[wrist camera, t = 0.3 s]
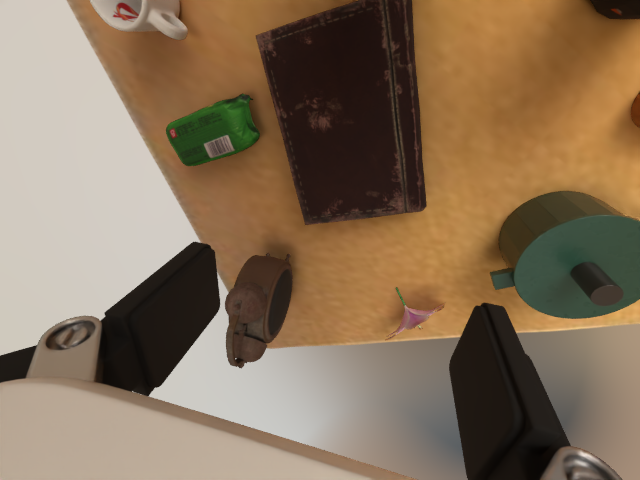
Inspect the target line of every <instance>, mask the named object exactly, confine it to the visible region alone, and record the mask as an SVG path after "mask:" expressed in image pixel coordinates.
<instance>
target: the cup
mask: <svg viewBox="0 0 640 480" xmlns="http://www.w3.org/2000/svg"><path fill="white" fill-rule="evenodd" d="M90 2H91V4H92V6H93V8H94V9H95V11H96V12H97V13H98V15H99V16H100V17H101V18H102V19H103V20H104V21H105V22H106V23H107V24H109V25H110V26H112V27H113V28H115V29H118V30H121V31H161V32H162V33H163V34H165V35H167V36H168V37H170V38H173V39H177V40H183V39H185V38H186V36H187V34H188V29H187V27H186V26H185V25H184V24H183V23H182V22H181V21H180V20H179V19H178V17H179V12H180V2H179V0H90Z"/></svg>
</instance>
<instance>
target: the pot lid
mask: <svg viewBox="0 0 640 480" xmlns="http://www.w3.org/2000/svg"><path fill="white" fill-rule="evenodd" d="M513 282H514V285H515V288H516V290H517V292H518V294H519V295H520V297H521V298H522V299H523V300H524V301H525V302H526V303H527V304H528V305H529V306H531V307H532V308H534V309H535V310H537V311H539V312H542V313H544V314H547V315H551V316H555V317H560V318H571V319H580V318H591V317H597V316H602V315H605V314H609V313H612V312H615V311H618V310H620V309H623V308H625V307H627V306H629V305H631V304H632V303H634V302H636V301H637V300H639V299H640V221H639V220H637V219H634V218H631V217H628V216H623V215H618V214H608V213H600V214H588V215H582V216H577V217H573V218H570V219H567V220H564V221H561V222H559V223H556V224H554V225H552V226H550V227H548V228H546V229H545V230H543V231H542V232H540V233H539V234H537V235H536V236H535V237H534V238H532V239H531V240H530V241H529V242H528V243H527V244H526V245H525V247H524V248H523V249H522V250H521V252H520V253H519V255H518V257H517V259H516V262H515V264H514V269H513Z"/></svg>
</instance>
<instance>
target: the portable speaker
mask: <svg viewBox="0 0 640 480" xmlns="http://www.w3.org/2000/svg"><path fill="white" fill-rule="evenodd" d="M591 2H592V4H593V6H594V7H595V9H596V11H597V12H598V13H600V14H602V15H604V16H606V17H608V18H610V19H640V0H591Z"/></svg>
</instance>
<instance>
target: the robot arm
mask: <svg viewBox="0 0 640 480" xmlns="http://www.w3.org/2000/svg"><path fill="white" fill-rule="evenodd" d="M219 307H220V298H219V288H218V279H217V269H216V259H215V252H214V250H213V249H211V246H210V245H208V244H203V243H198V242H193V243H191V244H190V245H189V246H187V247H186V248H185V249H184V250H182V251H181V252H180V253H179V254H177V255H176V256H175V257H174V258H172V259H171V260H170V261H169V262H167V263H166V264H165V265H164V266H162V267H161V268H160V269H159V270H157V271H156V272H155V273H154V274H152V275H151V276H150V277H149V278H147V279H146V280H145V281H144V282H142V283H141V284H140V285H139V286H137V287H136V288H135V289H134V290H132V291H131V292H130V293H129V294H127V295H126V296H125V297H124V298H122V299H121V300H120V301H119V302H117V303H116V304H115V305H114V306H112V307H111V308H110V309H109V310H107V311H106V312H105V316H106V317H104V318H103V319H102V320H101V321H99V319H97V318H95V317H92V316H79V317H74V318H70V319H67V320H65V321H63V322H60V323H58V324H56V325H55V326H53V327H52V328H50V329H49V330H48V331H47V332H46V333H44V334H43V335H42V337H41V339H40V340H39V342H38V345H36V346H33V347H29V348H26V349H22V350H18V351H15V352H11V353H8V354H4V355H1V356H0V480H416V479H414V478H410V477H407V476H404V475H400V474H398V473H394V472H391V471H388V470H385V469H382V468H379V467H375V466H372V465H369V464H366V463H362V462H359V461H356V460H353V459H350V458H347V457H344V456H340V455H337V454H334V453H331V452H328V451H325V450H321V449H318V448H315V447H312V446H309V445H305V444H302V443H299V442H295V441H292V440H289V439H286V438H282V437H279V436H276V435H273V434H270V433H267V432H263V431H260V430H257V429H253V428H250V427H247V426H244V425H241V424H237V423H234V422H231V421H228V420H224V419H221V418H218V417H214V416H211V415H208V414H204V413H201V412H198V411H195V410H191V409H188V408H184V407H181V406H178V405H174V404H171V403H168V402H165V401H162V400H158V399H154V398H151V397H148V396H149V394H150V393H151V392H152V391H153V389H154V388H155V387H159V386H161V385H162V383H163V382H164V381H165V380H166V378H167V377H168V376H169V375H170V373H171V372H172V371H173V369H174V368H175V367H176V365H177V364H178V363H179V362H180V360H181V359H182V358H183V356H184V355H185V354H186V353H187V351H188V350H189V349H190V347H191V346H192V345H193V343H194V342H195V341H196V339H197V338H198V337H199V336H200V334H201V333H202V332H203V331H204V329H205V328H206V327H207V325H208V324H209V323H210V321H211V320H212V319H213V318H214V316H215V315H216V314H217V312H218V310H219ZM449 371H450V377H451V383H452V389H453V395H454V402H455V408H456V414H457V419H458V426H459V431H460V438H461V443H462V450H463V456H464V462H465V468H466V474H467V478H468V480H622V478H621V477H620V476H619V475H618V474H617V473H616V472H615V471H614V470H613V469H612V468H611V467H610V466H609V465H607V464H606V463H605V462H604V461H602V460H601V459H600V458H598V457H597V456H595V455H593V454H592V453H590V452H588V451H585V450H583V449H581V448H577V447H572V446H571V445H570V443H569V441H568V439H567V437H566V434H565V432H564V430H563V428H562V426H561V424H560V421H559V419H558V417H557V415H556V413H555V410H554V409H553V406H552V404H551V402H550V400H549V397H548V395H547V393H546V391H545V389H544V386H543V384H542V382H541V380H540V378H539V376H538V373H537V371H536V369H535V367H534V365H533V363H532V360H531V359H530V358H529V356H528V355H526V354H525V352H524V350H523V348H522V345H521V343H520V341H519V339H518V337H517V334H516V332H515V330H514V327H513V325H512V323H511V321H510V319H509V316H508V314H507V312H506V310H505V308H504V307H503V306H498V305H494V304H489V303H482V304H481V306H475V307H474V309H473V311H472V314H471V316H470V318H469V320H468V322H467V325H466V327H465V329H464V331H463V333H462V336H461V338H460V340H459V342H458V344H457V346H456V349H455V351H454V353H453V355H452V357H451V360H450V364H449ZM132 391H133V392H132ZM134 392H136V393H134ZM137 393H139V394H137ZM140 394H142V395H140Z"/></svg>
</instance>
